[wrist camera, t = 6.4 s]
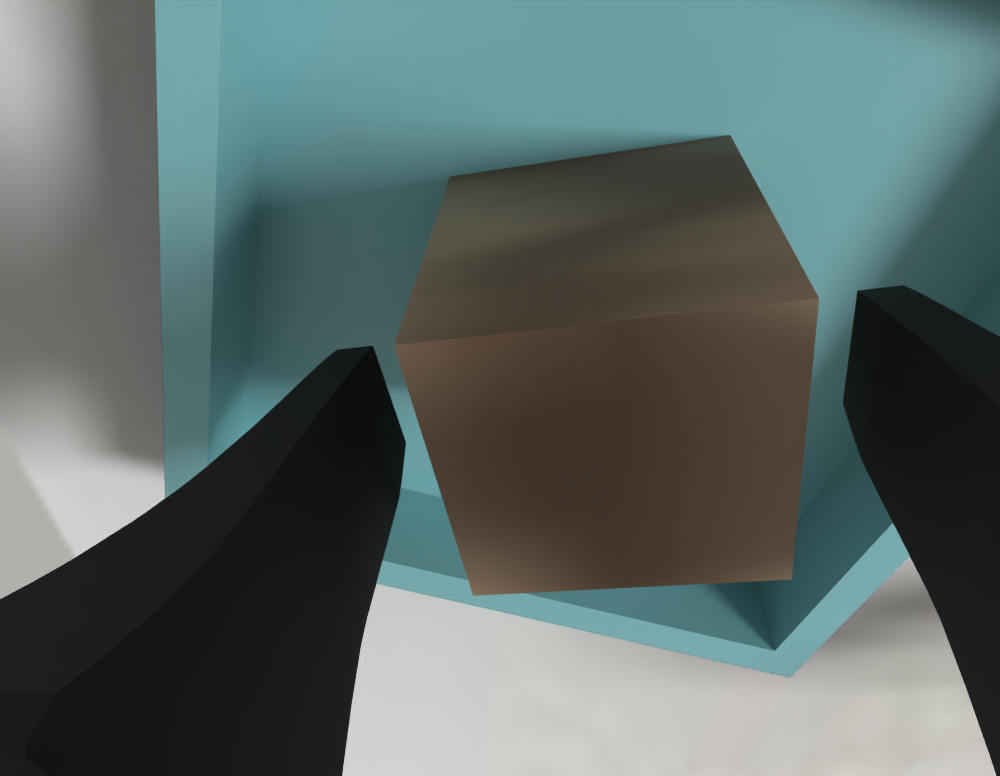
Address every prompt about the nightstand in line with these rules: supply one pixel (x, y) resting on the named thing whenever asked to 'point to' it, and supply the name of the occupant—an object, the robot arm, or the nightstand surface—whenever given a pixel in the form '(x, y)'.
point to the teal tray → (551, 137)
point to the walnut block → (613, 371)
